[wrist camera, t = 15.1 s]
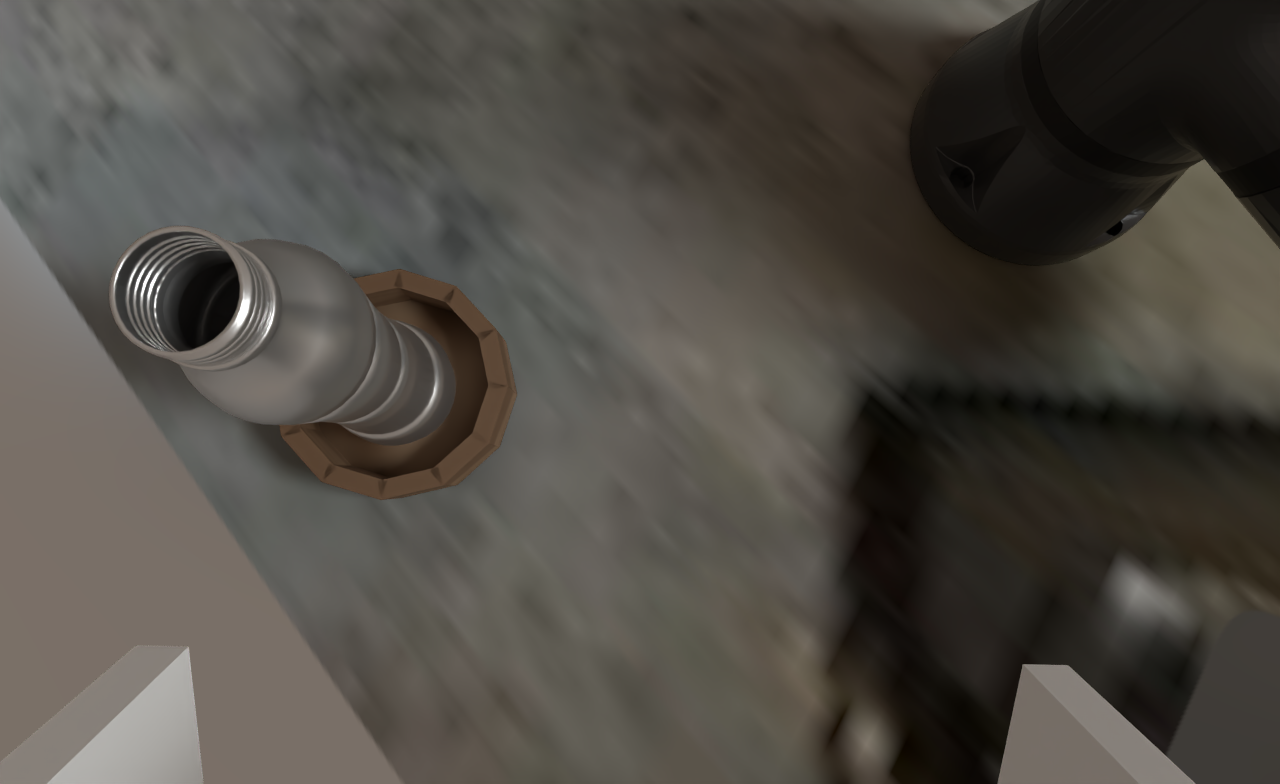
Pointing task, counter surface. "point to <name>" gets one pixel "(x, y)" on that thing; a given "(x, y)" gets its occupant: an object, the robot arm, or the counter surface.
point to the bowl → (465, 429)
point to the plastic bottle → (279, 335)
